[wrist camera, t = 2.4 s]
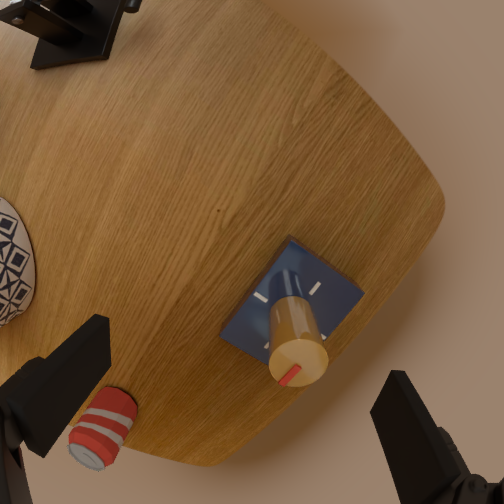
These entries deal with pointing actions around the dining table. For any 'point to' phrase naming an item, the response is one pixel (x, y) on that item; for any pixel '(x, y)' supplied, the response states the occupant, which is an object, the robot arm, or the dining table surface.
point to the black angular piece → (67, 29)
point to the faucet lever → (130, 6)
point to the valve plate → (290, 284)
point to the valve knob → (295, 343)
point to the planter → (14, 265)
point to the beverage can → (102, 429)
